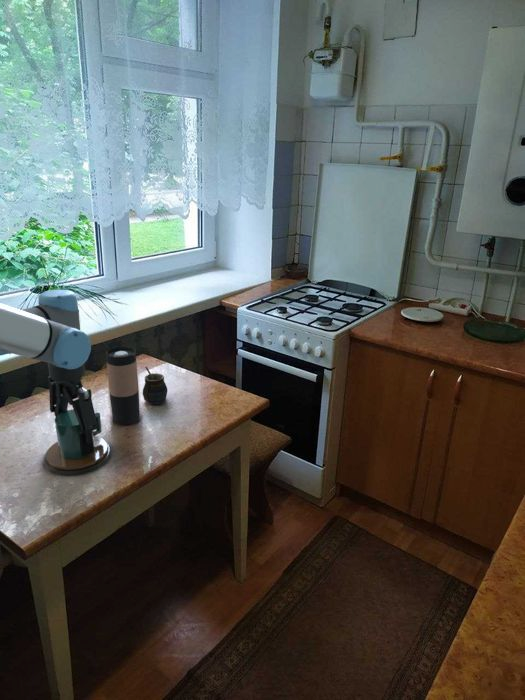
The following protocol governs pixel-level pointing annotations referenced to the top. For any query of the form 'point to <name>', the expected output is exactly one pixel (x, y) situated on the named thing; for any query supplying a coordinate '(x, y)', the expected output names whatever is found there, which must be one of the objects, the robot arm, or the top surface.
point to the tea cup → (74, 444)
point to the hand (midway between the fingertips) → (76, 446)
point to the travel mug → (123, 385)
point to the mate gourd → (154, 388)
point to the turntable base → (78, 471)
